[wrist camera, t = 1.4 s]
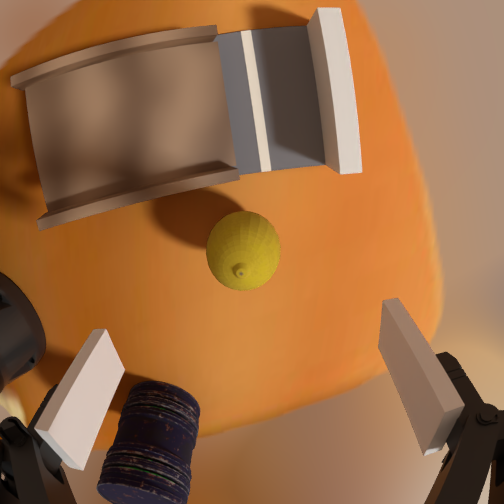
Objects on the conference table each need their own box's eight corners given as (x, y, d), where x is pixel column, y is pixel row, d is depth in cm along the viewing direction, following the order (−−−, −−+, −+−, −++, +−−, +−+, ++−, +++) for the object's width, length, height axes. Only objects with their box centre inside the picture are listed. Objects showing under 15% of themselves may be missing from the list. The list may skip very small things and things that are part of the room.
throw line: (261, 171, 26) (261, 172, 25) (240, 32, 21) (240, 31, 21) (271, 170, 26) (271, 170, 25) (250, 31, 21) (250, 29, 21)
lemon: (206, 206, 27) (189, 240, 20) (271, 195, 27) (278, 226, 19) (220, 265, 29) (209, 314, 22) (281, 255, 29) (290, 303, 21)
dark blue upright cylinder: (148, 368, 35) (112, 474, 21) (216, 405, 37) (205, 510, 23) (117, 403, 38) (85, 491, 24) (177, 434, 40) (161, 522, 26)
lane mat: (223, 176, 26) (223, 177, 26) (202, 38, 21) (202, 37, 21) (343, 162, 25) (344, 163, 25) (325, 26, 21) (325, 25, 20)
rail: (324, 164, 25) (340, 174, 21) (306, 26, 21) (317, 7, 16) (343, 162, 25) (362, 172, 21) (325, 26, 21) (340, 7, 16)
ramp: (81, 202, 27) (30, 233, 19) (59, 84, 22) (1, 82, 14) (241, 171, 26) (236, 194, 18) (221, 37, 21) (207, 3, 14)
